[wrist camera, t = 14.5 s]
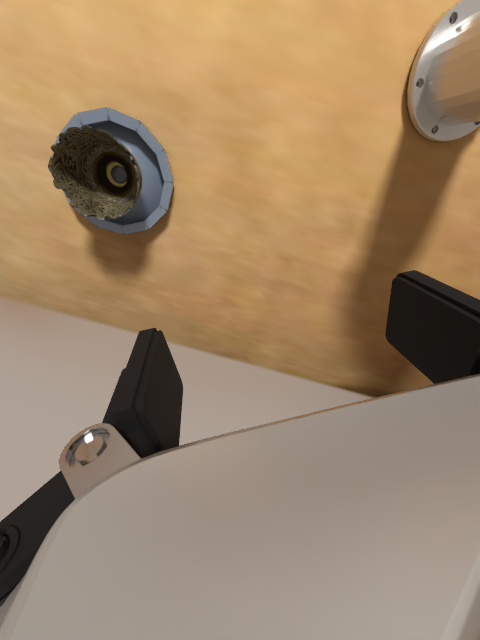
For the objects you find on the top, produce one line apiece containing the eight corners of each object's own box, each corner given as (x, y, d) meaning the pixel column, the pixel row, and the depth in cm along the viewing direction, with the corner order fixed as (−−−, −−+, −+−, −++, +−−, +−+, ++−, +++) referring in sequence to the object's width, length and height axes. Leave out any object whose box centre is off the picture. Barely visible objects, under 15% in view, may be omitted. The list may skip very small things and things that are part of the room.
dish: (153, 103, 28) (150, 98, 26) (184, 219, 34) (184, 221, 33) (42, 125, 28) (31, 122, 26) (93, 238, 34) (87, 242, 32)
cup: (69, 152, 29) (26, 147, 22) (129, 122, 28) (104, 108, 21) (110, 219, 33) (85, 232, 26) (164, 194, 32) (153, 201, 25)
